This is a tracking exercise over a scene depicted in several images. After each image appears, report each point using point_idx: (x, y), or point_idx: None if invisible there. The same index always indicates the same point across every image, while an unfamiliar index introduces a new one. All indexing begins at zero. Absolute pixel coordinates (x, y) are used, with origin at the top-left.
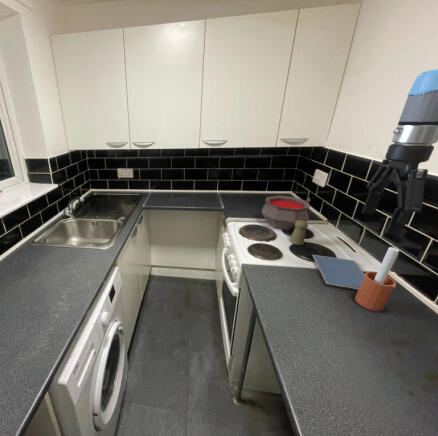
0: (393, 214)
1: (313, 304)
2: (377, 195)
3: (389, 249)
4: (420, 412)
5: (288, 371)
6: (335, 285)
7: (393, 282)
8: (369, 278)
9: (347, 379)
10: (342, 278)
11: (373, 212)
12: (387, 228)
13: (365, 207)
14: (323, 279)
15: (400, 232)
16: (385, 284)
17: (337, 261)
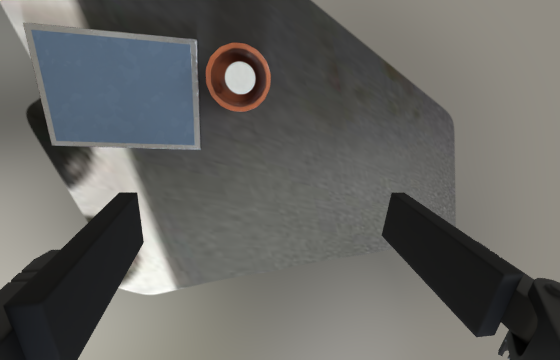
0: (452, 306)
1: (274, 186)
2: (61, 313)
3: (242, 93)
4: (437, 117)
5: None
6: (200, 131)
7: (246, 50)
8: (246, 107)
9: (405, 180)
10: (162, 104)
11: (131, 203)
12: (397, 247)
13: (126, 267)
14: (181, 148)
15: (410, 200)
16: (226, 52)
17: (62, 83)
